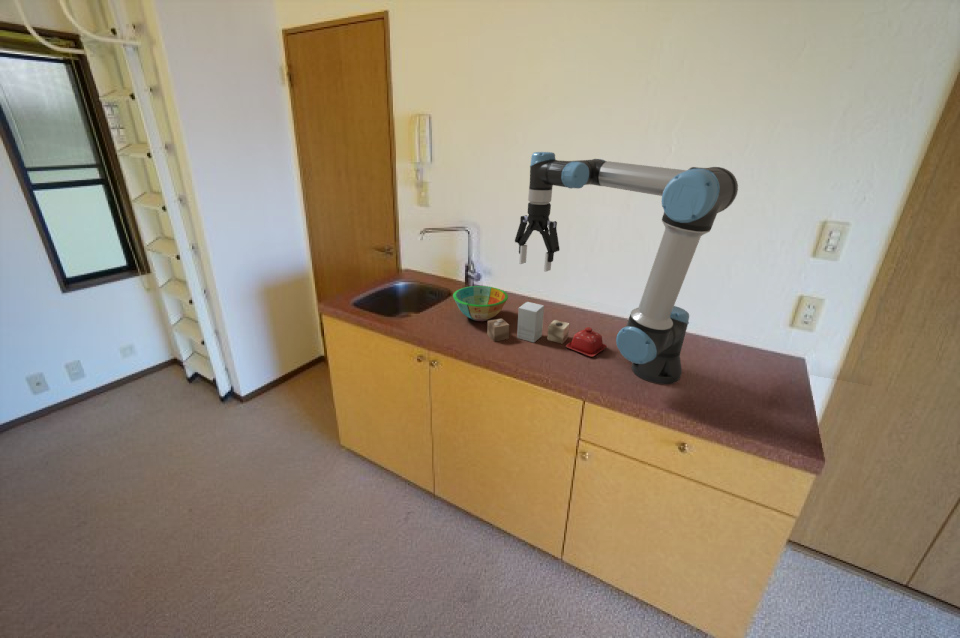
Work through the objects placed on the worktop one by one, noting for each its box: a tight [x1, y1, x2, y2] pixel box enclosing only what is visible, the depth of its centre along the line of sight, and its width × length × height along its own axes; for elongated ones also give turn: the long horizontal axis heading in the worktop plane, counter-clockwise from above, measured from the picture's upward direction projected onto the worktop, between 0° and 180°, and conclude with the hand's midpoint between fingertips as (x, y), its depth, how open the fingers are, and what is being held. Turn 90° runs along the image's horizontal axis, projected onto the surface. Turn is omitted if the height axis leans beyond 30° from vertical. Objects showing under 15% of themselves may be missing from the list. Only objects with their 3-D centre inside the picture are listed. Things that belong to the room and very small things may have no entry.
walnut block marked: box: [486, 318, 510, 342], centre depth 157 cm, size 6×6×6 cm
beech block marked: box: [546, 319, 570, 344], centre depth 157 cm, size 6×6×6 cm
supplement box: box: [516, 301, 545, 344], centre depth 156 cm, size 7×7×13 cm
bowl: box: [452, 285, 509, 322], centre depth 172 cm, size 22×22×10 cm
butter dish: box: [565, 326, 607, 357], centre depth 150 cm, size 12×12×8 cm
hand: (534, 266), depth 147 cm, fingers open, 10 cm apart
